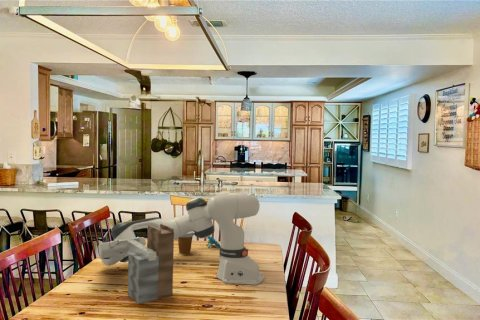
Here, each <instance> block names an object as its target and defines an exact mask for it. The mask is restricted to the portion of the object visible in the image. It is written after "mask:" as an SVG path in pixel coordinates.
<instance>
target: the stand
mask: <svg viewBox="0 0 480 320" xmlns="http://www.w3.org/2000/svg"><path fill="white" fill-rule="evenodd" d="M146 234H147V242H146V243H147V244H146V247H148V248H150V249H151V250H153V251H155V252H156V260H152V261H148V260H146V259H144V258H143V257H141V256H140V255H138V254H136V253H135V252H133V253H129V257H128V262H127V266H128V267H127V295H128V296H129V297H130V298H131V299H132V300H133V301H135V303H137V304H138V305H140V304H144V303H148V302H152V301H155V300H159V299H164V298H167V297H171V296H173V291H174V290H173V285H174V284H173V283H174V252H175V251H174V247H175V246H174V245H175V243H174V241H175V240H174V229H173V228H171V227H168V226H166V225H163V224H160V228H154V227H152V226H150V225H148V228H147V233H146ZM143 302H144V303H143ZM139 303H140V304H139Z"/></svg>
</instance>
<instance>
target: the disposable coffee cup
mask: <svg viewBox="0 0 480 320" xmlns="http://www.w3.org/2000/svg"><path fill="white" fill-rule="evenodd" d="M193 233H194V232H193V231H191V232H188V233H186V234H185V235H183V236H181V237H179V238H177V243H178V244H177V245H178V253H179V254H181V255H189V254H190V253H191V252H192V251H191V249H192V242H193V237H194V235H192V234H193Z"/></svg>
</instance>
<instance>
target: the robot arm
mask: <svg viewBox="0 0 480 320" xmlns="http://www.w3.org/2000/svg"><path fill="white" fill-rule="evenodd" d="M207 200H208V201H207ZM207 200H205V199H204V198H202V197H193V198H191V199H190V200H189V201H187V202H186V204H185V208H186V209H185V210H186V211H187V214H183V215H179V216H175V217H172V218H170V219H162V218H161V217H159V216H158V217H157V216H156V217H155V216H154V217H148V218H144V219H143V218H142V219H138V220H132V221H123V222H119V223H117V224H115V225H114V226H113V227H112V229H111V231H110V232H111V233H110V235H111V237H112V239H113V240H112V241H107V242H101V243H99V244H98V246H97V247H98V250H97V251H98V255H99V259H100V260H101V263H102V264H103V265H105V266H107V267H110V266H114V265H116V264H117V263H128V257H129V253H133V251H132V250H130V249H128V248H127V241H129V240H135V241H137V242H139V243H141V244H142V245H144V246H147V244H146V243H147V242H146V238H145V237H140V236H137V237H136V234H135V232H134V231H135V230H140V229H146V228H147V229H148V225H150V226H152V227H154V228H160V224H163V225H166V226H168V227H171V228H173V229H174V241H175V240H178V238H179V237H181V236H183V235H185V234H186V233H188V232H191V231H192V232H193V234H192V235H193V236H195V237H196V238H199V239H206V238H207V237H209V236H211V237H212V235H213V234H214V232H215V226H214V224H213V221H215V222H216V223H217V224H218V225H217V226H218V228H219V231H220V247H219V252H218V253H219V263H218V269H217V273H216V275H215V276H216V278H218V280H221V282H223V283H224V284H237V285H250V286H251V285H252V286H256V285H259V284H261V283H262V282H263V281H264V279H265V275H264V273H262V272H260V267H259V266H260V265H259V264H258V263H257V262H256V261H255V259H253V258H251V256H250V255H249V248H246V246H245V231H244V229H243V228H242V227H241V226H239V225H237V224H236V223H234V220H237V219H245V218H246V219H247V218H250V217H251V218H252V217H254V216H256V215H257V214H258V213H259V212H260V209H261V208H260V207H261V206H260V205H261V204H260V201H259V199H258V198H257V196H255V195H251V194H243V193H242V194H217V195H214V196H211V197H210V198H209V199H207ZM207 239H208V238H207Z"/></svg>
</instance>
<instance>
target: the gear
mask: <svg viewBox="0 0 480 320" xmlns="http://www.w3.org/2000/svg"><path fill="white" fill-rule="evenodd" d="M207 239H208V240H207V244H206V247H207V248H208V249H210V248H212V247H211V246H213V245H215V247H217V248H220V246H221V243H218V241H217V240H216V239H215V238H213V237H212V235H211V236H209V237H207Z"/></svg>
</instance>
